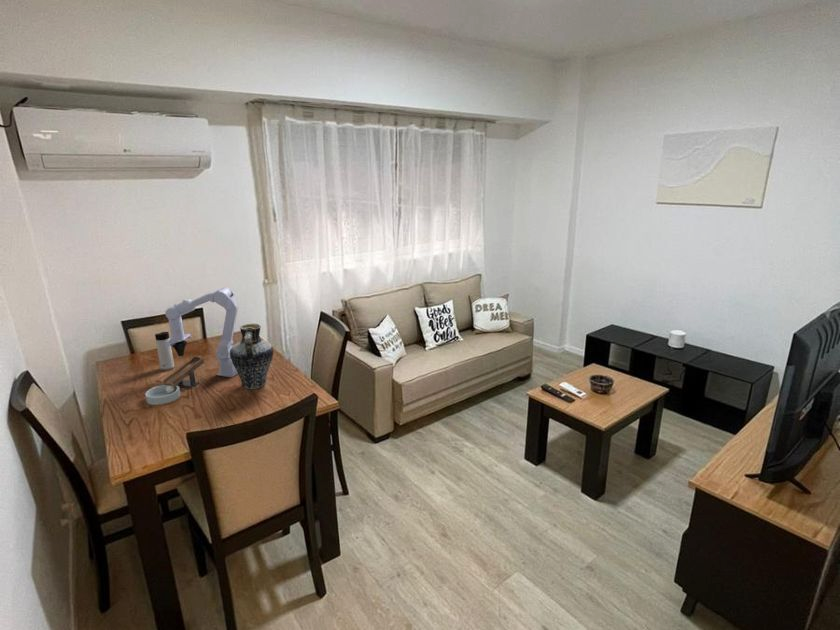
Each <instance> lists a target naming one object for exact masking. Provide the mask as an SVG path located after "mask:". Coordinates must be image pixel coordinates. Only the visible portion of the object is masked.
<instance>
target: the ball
mask: <svg viewBox="0 0 840 630" xmlns="http://www.w3.org/2000/svg"><path fill="white" fill-rule="evenodd" d="M174 389H175V388H174V386H170V385H169V386H167V387H166V391H167V392H168V393H172V392H173V391H174Z"/></svg>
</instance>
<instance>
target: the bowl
mask: <svg viewBox="0 0 840 630" xmlns="http://www.w3.org/2000/svg"><path fill="white" fill-rule="evenodd" d="M167 386H169V385H165V384H161V385H158V386H153V387H151V388H150V389H147V391H145V393H144V396H145V400H146V403H147V404H148V405H153V406H158V405H159V404H160V405H166V404H169V403H172V401H173V402H175V401H176V400H178V399H179V398H180V396H181V395H182V394H181V389H180V386H177V385H176V386H174V388H175V389H174V391H173V392H172V393H168V392H167V391H166V387H167ZM165 403H166V404H165Z"/></svg>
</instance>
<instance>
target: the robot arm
mask: <svg viewBox="0 0 840 630" xmlns="http://www.w3.org/2000/svg"><path fill="white" fill-rule="evenodd" d="M208 302H211V303H216V304H217V305H219V306H221V307H223V308H224V310H225V312H226V313H225V316H224V317H225V318H224V323H223V327H222V328H223V329H222V334H221V338H220V339H221V340H220V342H219V345H218V348H217V349H216V350H215V356H216V357H217V359H218V366H219V372H218V373H216V376H220V377H221V376H222V377H226V378H233V377H236V376H237V375H238V372H237V370H236V369H235V367H234V365H233V363H232V360H231V357H230V349H231V348H232V347H233V346H234V345H235V344H234V334H235V333H234V332H235V326H236V321H237V315H238V310H239V306H238V302H237V299H236V297H235V293H234V292H233V291H232V290H231V288H229V287H222V288H221V289H220V288H219V289H215V290H212V291H210V292H208V293H206V294H204V295H202V296H200V297H198V298H196V299H194V300H193V299H186V298H185V299H183V300H182V301H181V302H179V303H175V304H173V305H172V306H169V308H167V309H166V310H165V311H164V312H165V313H164V314H165V317H166V318H167V319H168V324H169V333H170V336H171V337H170V340H169V341H168V342H166V343H165V346H166V347H170V346H171V347H172V348H173V349H174V350H175V352H176V354H177V356H178V357H183V356H184V354H185V349H186V345H187V344H188V342H187V339H191V338H192V334H191V333H186V334H185V330H184V325H183V319H182V318H183V317H182V316H184V315H185V314H186V315H187V314H188V313H191V312H193V311H195V310H196V307H198V306H201V305H203V304H206V303H208Z"/></svg>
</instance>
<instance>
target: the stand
mask: <svg viewBox="0 0 840 630" xmlns="http://www.w3.org/2000/svg"><path fill="white" fill-rule="evenodd" d="M188 376H189V380H188V379H183V380H182V381H181V382H179V383H178V384H177V386H178V387H179V388H180V387H181V388H188V389H193V388H194V387H197V386H198V385H200V381H196V377H195V372H194V371H192V372H190V373H189V375H188Z"/></svg>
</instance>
